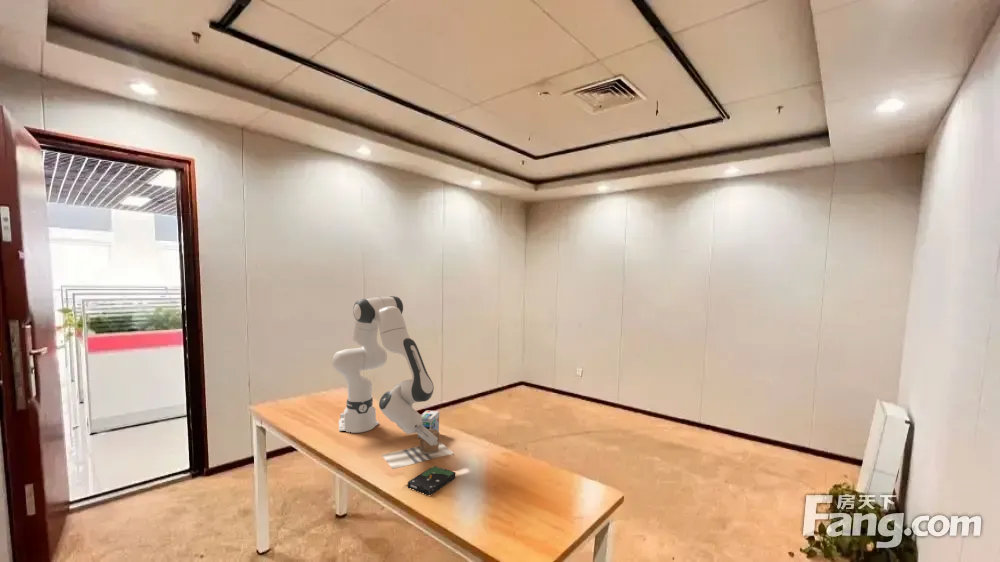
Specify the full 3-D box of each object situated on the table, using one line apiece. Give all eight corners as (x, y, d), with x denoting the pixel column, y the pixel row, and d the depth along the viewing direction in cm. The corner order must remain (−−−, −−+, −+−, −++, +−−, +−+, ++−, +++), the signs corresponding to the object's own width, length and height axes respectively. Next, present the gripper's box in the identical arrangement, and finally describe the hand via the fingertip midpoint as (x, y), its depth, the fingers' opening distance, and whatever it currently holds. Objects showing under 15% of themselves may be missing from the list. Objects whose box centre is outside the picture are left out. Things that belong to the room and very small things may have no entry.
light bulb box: (431, 442, 180) (431, 418, 180) (417, 441, 181) (417, 417, 181) (439, 433, 190) (439, 411, 190) (426, 432, 192) (426, 409, 191)
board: (381, 458, 164) (381, 454, 164) (439, 444, 178) (439, 441, 178) (392, 473, 152) (392, 469, 152) (454, 456, 166) (454, 453, 166)
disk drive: (429, 498, 136) (455, 479, 149) (430, 490, 136) (456, 471, 149) (407, 489, 142) (434, 471, 154) (407, 481, 142) (434, 464, 154)
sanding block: (419, 449, 168) (421, 430, 168) (433, 447, 171) (434, 428, 172) (424, 454, 164) (426, 434, 164) (438, 452, 167) (439, 432, 167)
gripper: (426, 423, 156) (449, 443, 161) (407, 408, 173) (428, 426, 178) (415, 437, 153) (438, 457, 159) (397, 420, 170) (418, 438, 176)
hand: (433, 440), depth 169 cm, fingers closed on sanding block, 5 cm apart
